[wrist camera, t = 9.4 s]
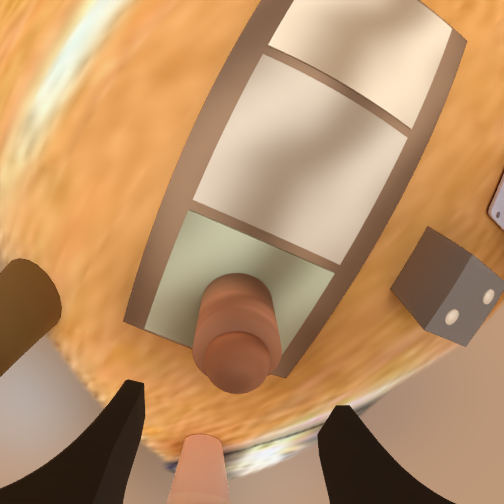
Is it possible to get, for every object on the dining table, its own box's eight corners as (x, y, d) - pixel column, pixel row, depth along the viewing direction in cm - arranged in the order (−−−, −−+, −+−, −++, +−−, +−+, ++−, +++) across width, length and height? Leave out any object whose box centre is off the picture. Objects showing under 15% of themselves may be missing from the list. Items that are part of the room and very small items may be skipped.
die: (466, 254, 19) (508, 285, 14) (432, 308, 20) (466, 348, 16) (427, 225, 18) (474, 255, 13) (389, 288, 19) (425, 331, 15)
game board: (460, 42, 13) (468, 40, 12) (284, 370, 21) (286, 380, 21) (303, -58, 10) (306, -66, 10) (126, 314, 19) (122, 323, 18)
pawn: (279, 278, 17) (299, 354, 11) (264, 337, 19) (274, 417, 13) (205, 267, 17) (190, 340, 11) (197, 327, 18) (184, 408, 12)
